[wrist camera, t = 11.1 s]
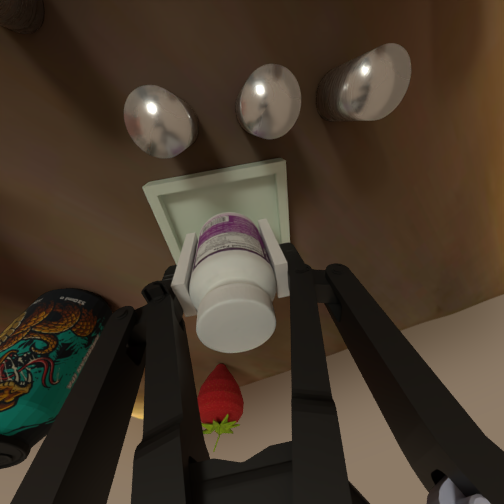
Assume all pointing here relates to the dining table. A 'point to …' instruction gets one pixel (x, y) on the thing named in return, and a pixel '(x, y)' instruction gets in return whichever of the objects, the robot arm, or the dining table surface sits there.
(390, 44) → the posts
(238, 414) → the strawberry
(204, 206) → the tray
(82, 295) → the beverage can
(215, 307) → the pill bottle
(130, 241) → the dining table surface
